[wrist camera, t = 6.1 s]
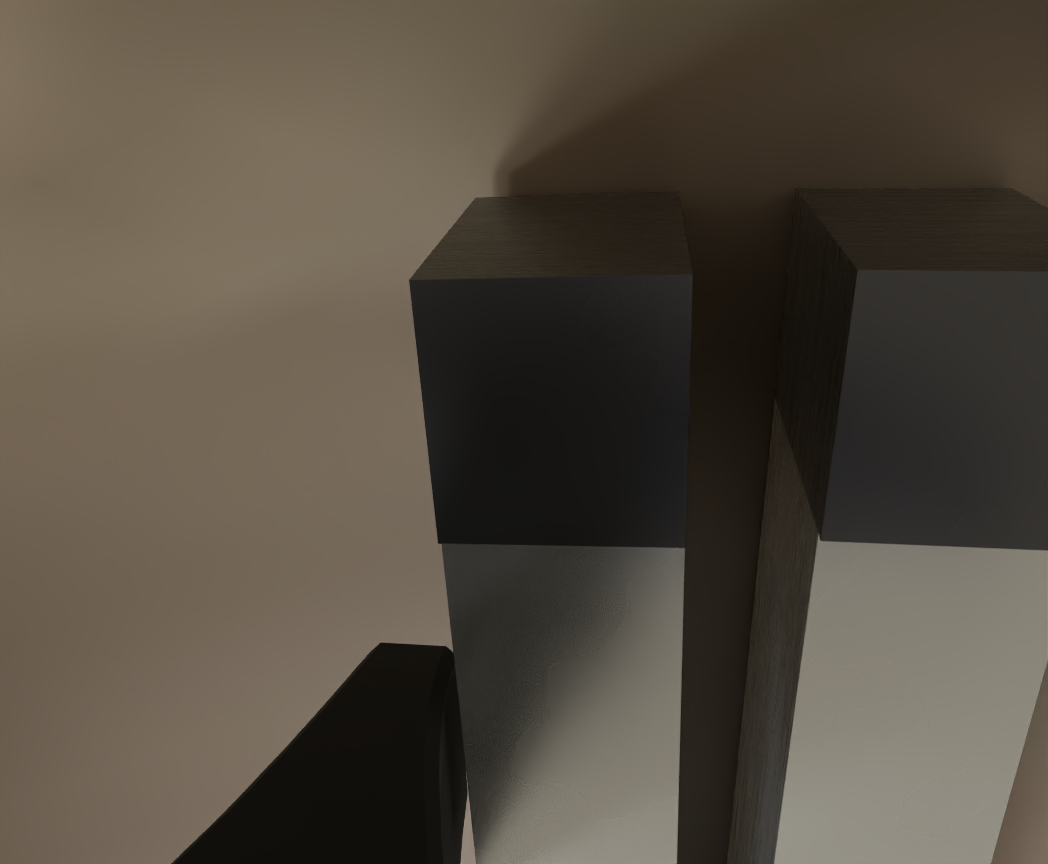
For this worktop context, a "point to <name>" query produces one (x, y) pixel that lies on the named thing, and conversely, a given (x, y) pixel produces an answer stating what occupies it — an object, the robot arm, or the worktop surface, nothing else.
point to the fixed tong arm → (900, 532)
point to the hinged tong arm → (563, 514)
